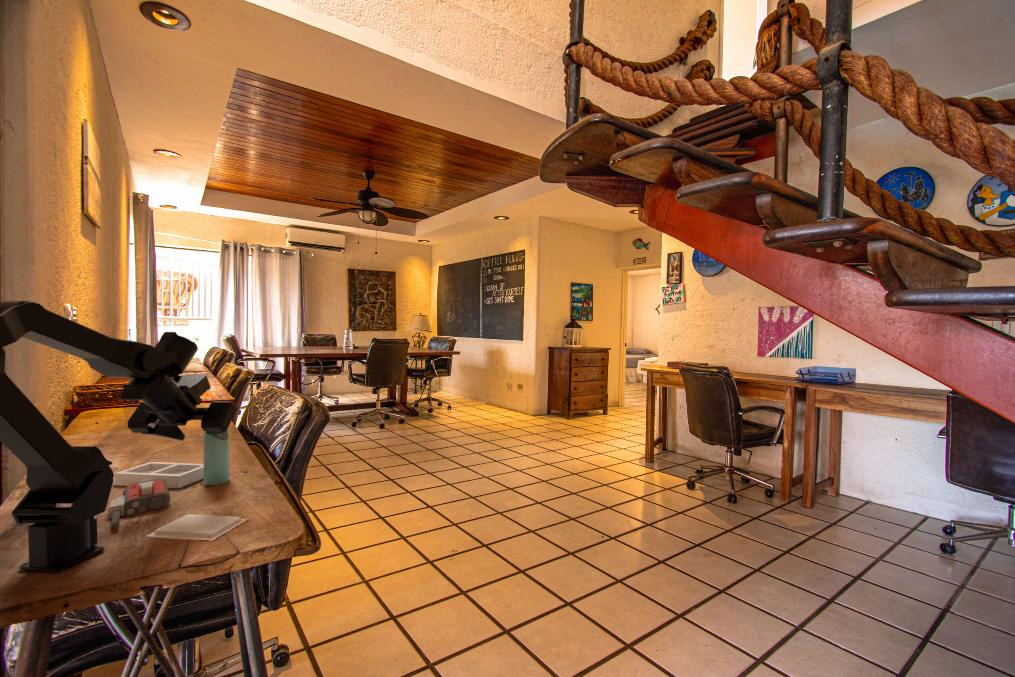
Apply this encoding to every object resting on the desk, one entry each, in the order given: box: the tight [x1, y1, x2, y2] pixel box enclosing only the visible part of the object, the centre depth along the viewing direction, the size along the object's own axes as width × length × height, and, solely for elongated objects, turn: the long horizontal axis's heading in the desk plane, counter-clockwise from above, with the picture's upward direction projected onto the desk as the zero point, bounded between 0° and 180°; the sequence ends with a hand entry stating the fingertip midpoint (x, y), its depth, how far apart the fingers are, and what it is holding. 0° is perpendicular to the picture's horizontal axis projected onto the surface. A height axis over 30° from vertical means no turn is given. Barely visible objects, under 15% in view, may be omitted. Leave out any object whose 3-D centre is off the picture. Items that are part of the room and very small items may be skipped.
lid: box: [145, 513, 245, 542], centre depth 75 cm, size 12×8×1 cm, turn 82°
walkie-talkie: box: [107, 479, 171, 528], centre depth 83 cm, size 9×4×20 cm
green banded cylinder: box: [202, 426, 231, 486], centre depth 98 cm, size 5×5×13 cm
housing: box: [112, 461, 204, 489], centre depth 99 cm, size 9×16×2 cm, turn 82°
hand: (204, 438), depth 94 cm, fingers open, 9 cm apart
